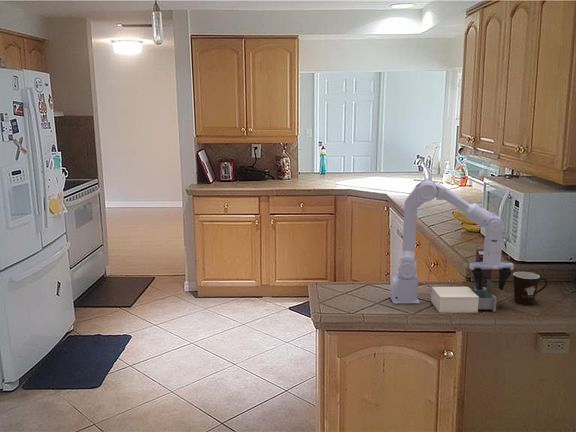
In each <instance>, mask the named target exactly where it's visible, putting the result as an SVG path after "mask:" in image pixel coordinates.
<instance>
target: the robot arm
mask: <svg viewBox="0 0 576 432" xmlns="http://www.w3.org/2000/svg"><path fill="white" fill-rule="evenodd" d="M434 199H436V200H437V201H446V202H448V203H449V204H450V205H453V206H454V207H456V208H458V209H460V210H461V211H463V212H464V217H465V218H467V219H468V220H470V221H471V222H473V223H474V224H476V225H477V226H479V227H481V228H485V234H484V240H483V241H484V242H483V249H484V253H483V262H476V261H475V262H469V269H470V270H471V272H472V274H473V276H474V277H473V278H475V280H476V285H477V289H478V290H481V281H482V276H483V272H481V271H482V270H481V269H491V270H498V277H499V278H498V289H499V290H500V291H503V290H504V287H505V285H506V283H507V281H508V278H510V276H511V275H512V271H513V270H514V266H515V265H514V263H512V262H506V261H505V262H503V261H502V250H503V249H502V245H503V232H504V231H505V228H506V227H505V223H504V222H503V220H502V219H501V217H499V216H498V215H497V214H495V213H494V212H493V211H492V212H490V211H489V210H487V209H486V208H485V207H484V205H483V204H482V203H476V202H473V203H469V202H468V201H467V200H465V199H463V198H462V197H460V196H459V195H458V194H456V193H454V192H453V191H452V190H450V189H449V188H447V186H446V187H445V186H444V185H442V184H440V183H438V182H435V181H434V180H432V179H429V178H428V179H424V180H422V181H420V182H419V183H417V184H416V185H415V186H414V188H413V190H411V192H410V193H409V195H408V196H407V197H406V198H405V200H404V206H403V207H404V209H403V210H404V211H403V226H402V229H403V231H402V248H401V249H402V252H401V259H400V260H399V265H398V269H397V270H398V273H397V275H394V276H391V277H390V284H389V298H390V300H391V301H392V303H393V304H421V302H420V299H418V282H419V280H418V279H419V275H418V274H417V273H418V272H417V268H418V267H417V266H418V262H417V258H416V240H417V236H416V235H417V224H418V223H417V221H418V208H419V207H421V206H422V205H423V204H425V203H428V202H430V201H433V200H434Z"/></svg>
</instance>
